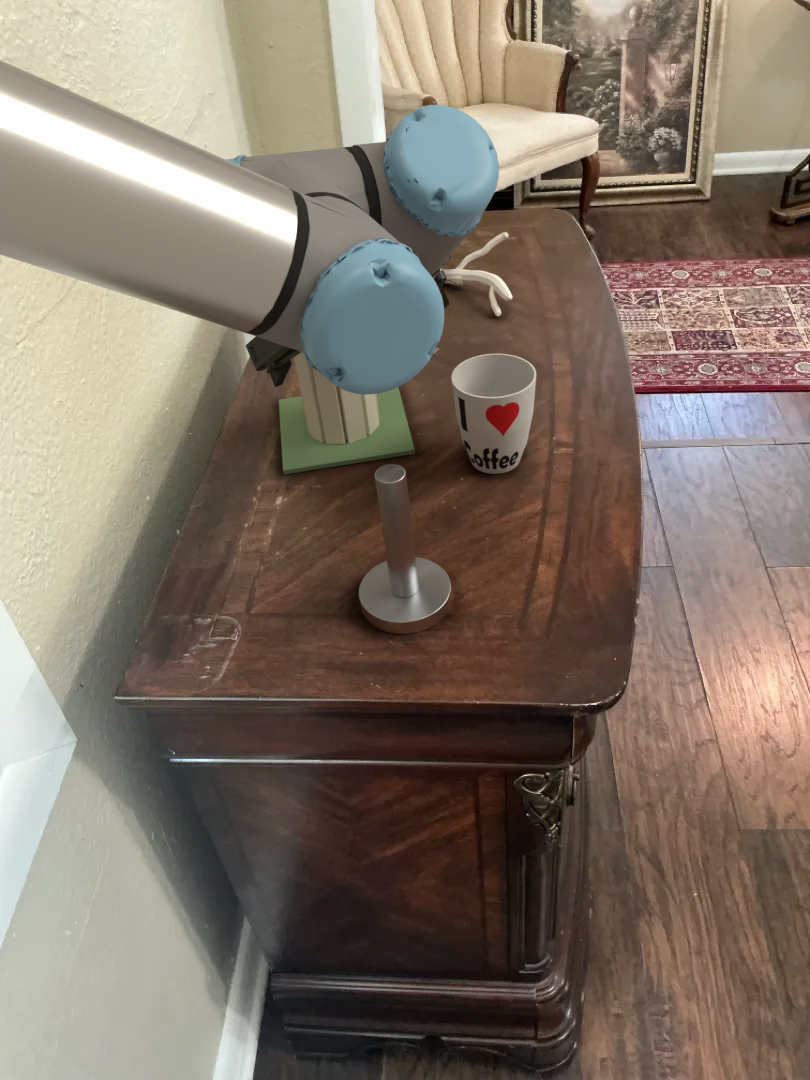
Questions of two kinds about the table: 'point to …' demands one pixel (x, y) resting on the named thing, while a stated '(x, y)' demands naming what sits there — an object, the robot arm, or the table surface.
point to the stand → (402, 567)
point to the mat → (314, 454)
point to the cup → (494, 409)
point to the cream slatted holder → (334, 407)
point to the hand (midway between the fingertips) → (334, 352)
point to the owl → (481, 275)
